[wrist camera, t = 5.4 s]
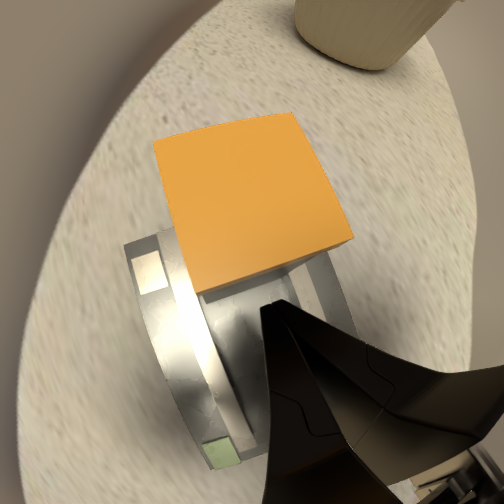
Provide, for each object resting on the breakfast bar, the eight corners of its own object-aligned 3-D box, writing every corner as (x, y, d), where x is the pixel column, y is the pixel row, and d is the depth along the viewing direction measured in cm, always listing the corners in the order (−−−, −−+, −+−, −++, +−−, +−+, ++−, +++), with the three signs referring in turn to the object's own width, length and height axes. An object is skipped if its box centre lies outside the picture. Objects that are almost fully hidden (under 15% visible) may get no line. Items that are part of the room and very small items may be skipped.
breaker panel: (361, 391, 16) (389, 402, 12) (210, 455, 13) (210, 482, 10) (292, 203, 18) (309, 179, 15) (132, 253, 16) (115, 237, 13)
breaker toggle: (279, 280, 15) (354, 236, 7) (205, 306, 14) (194, 293, 6) (252, 211, 15) (291, 112, 7) (181, 232, 15) (152, 141, 7)
